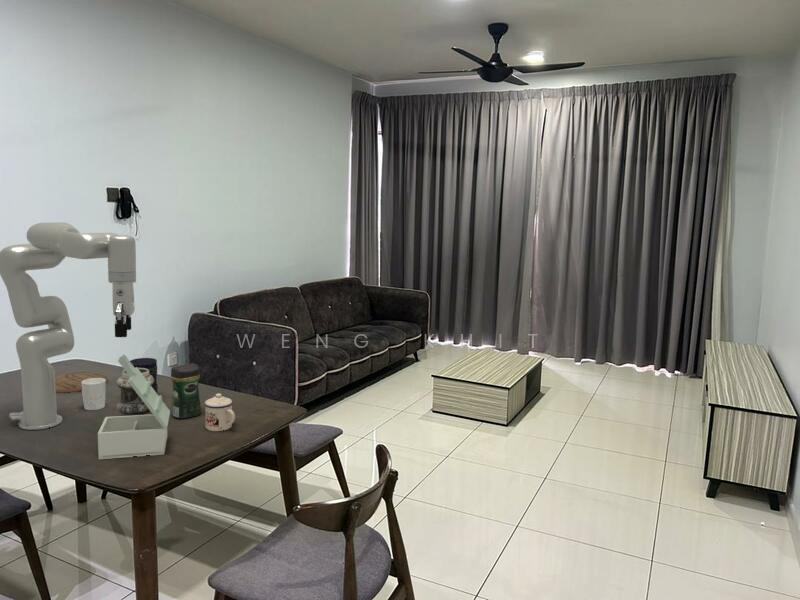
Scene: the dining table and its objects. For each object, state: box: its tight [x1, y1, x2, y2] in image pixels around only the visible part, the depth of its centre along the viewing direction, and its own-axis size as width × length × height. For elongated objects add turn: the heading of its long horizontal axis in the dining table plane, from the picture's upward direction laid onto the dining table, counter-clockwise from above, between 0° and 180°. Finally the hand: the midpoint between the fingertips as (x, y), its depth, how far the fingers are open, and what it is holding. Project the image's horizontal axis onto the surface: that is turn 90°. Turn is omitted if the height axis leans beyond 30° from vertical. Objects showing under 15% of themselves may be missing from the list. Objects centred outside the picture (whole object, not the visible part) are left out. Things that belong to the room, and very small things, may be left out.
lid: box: [117, 354, 171, 429], centre depth 185 cm, size 24×14×2 cm
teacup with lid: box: [204, 393, 236, 432], centre depth 205 cm, size 12×9×12 cm
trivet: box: [55, 371, 108, 394], centre depth 246 cm, size 25×25×2 cm
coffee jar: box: [170, 362, 202, 420], centre depth 216 cm, size 10×8×19 cm
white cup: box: [81, 378, 107, 411], centre depth 220 cm, size 8×8×10 cm
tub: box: [97, 414, 168, 460], centre depth 187 cm, size 18×14×8 cm
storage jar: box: [129, 357, 159, 394], centre depth 231 cm, size 10×10×15 cm
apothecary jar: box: [116, 368, 154, 416], centre depth 208 cm, size 12×12×18 cm
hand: (123, 333), depth 183 cm, fingers open, 9 cm apart
